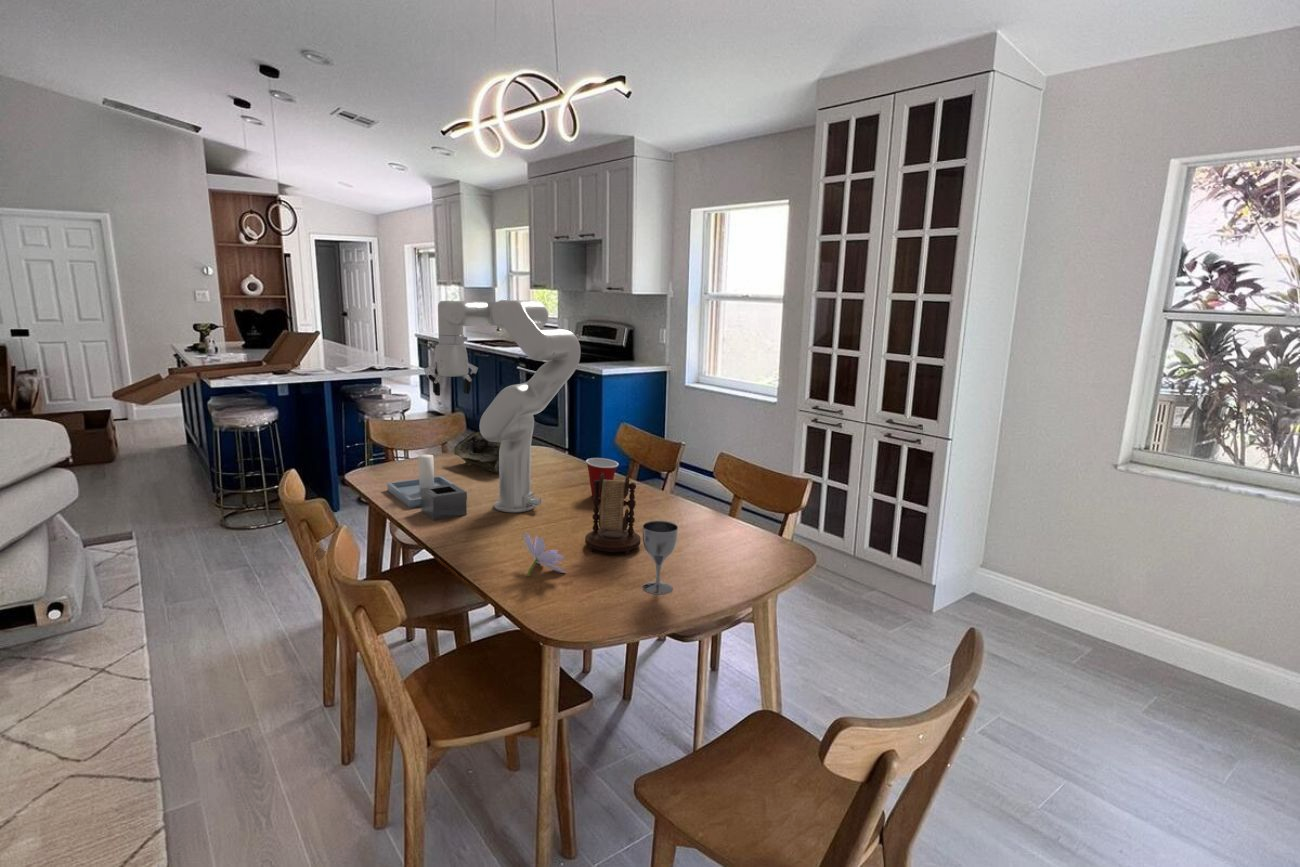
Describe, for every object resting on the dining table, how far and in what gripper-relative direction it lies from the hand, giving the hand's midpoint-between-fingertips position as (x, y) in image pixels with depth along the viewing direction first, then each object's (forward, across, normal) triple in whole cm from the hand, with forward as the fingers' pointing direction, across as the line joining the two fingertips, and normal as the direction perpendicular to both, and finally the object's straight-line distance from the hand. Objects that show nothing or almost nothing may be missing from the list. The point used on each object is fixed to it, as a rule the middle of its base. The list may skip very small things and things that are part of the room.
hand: (452, 394), depth 221 cm
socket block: (+32, +11, +20) cm, 39 cm away
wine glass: (+32, -11, +96) cm, 102 cm away
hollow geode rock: (+33, -20, -21) cm, 44 cm away
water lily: (+33, +7, +74) cm, 81 cm away
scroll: (+33, -16, +69) cm, 78 cm away
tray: (+32, +9, 0) cm, 34 cm away
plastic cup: (+32, -39, +29) cm, 59 cm away
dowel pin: (+32, +9, 0) cm, 33 cm away
